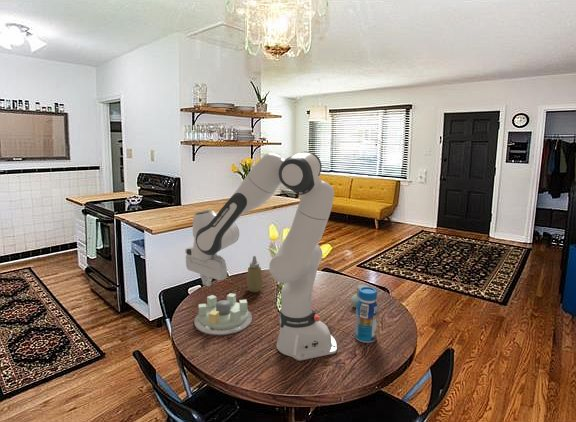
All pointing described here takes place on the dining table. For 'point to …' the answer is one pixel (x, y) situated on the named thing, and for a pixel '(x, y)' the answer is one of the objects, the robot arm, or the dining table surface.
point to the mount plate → (225, 331)
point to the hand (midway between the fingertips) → (206, 285)
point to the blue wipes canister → (366, 315)
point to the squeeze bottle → (254, 276)
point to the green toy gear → (223, 312)
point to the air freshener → (356, 296)
